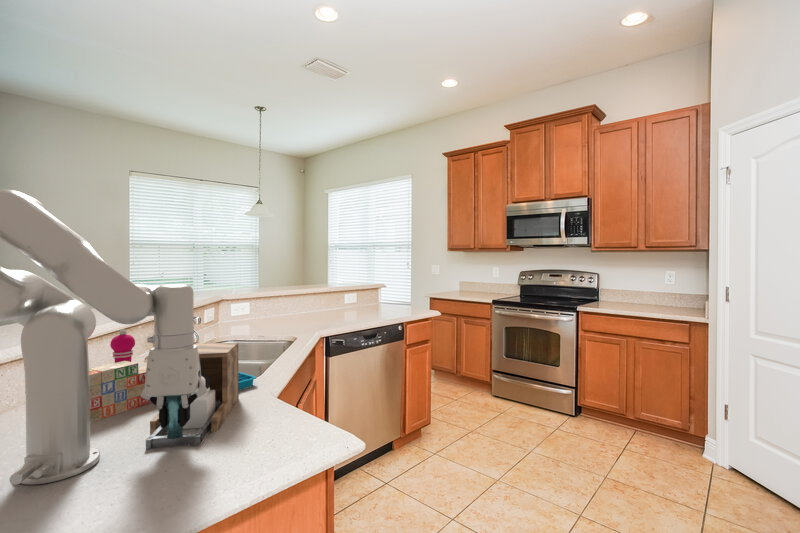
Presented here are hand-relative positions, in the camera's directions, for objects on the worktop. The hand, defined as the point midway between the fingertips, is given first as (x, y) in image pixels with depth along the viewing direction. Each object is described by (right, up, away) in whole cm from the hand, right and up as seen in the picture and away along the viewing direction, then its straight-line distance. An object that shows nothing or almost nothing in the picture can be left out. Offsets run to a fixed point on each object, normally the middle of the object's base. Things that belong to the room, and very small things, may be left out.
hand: (174, 423), depth 88 cm
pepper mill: (-32, -4, +30) cm, 45 cm away
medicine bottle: (-1, -5, +12) cm, 13 cm away
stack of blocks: (-26, -5, +23) cm, 35 cm away
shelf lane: (-3, -4, +17) cm, 18 cm away
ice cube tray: (-8, -4, +43) cm, 44 cm away
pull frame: (-1, -5, +8) cm, 9 cm away
